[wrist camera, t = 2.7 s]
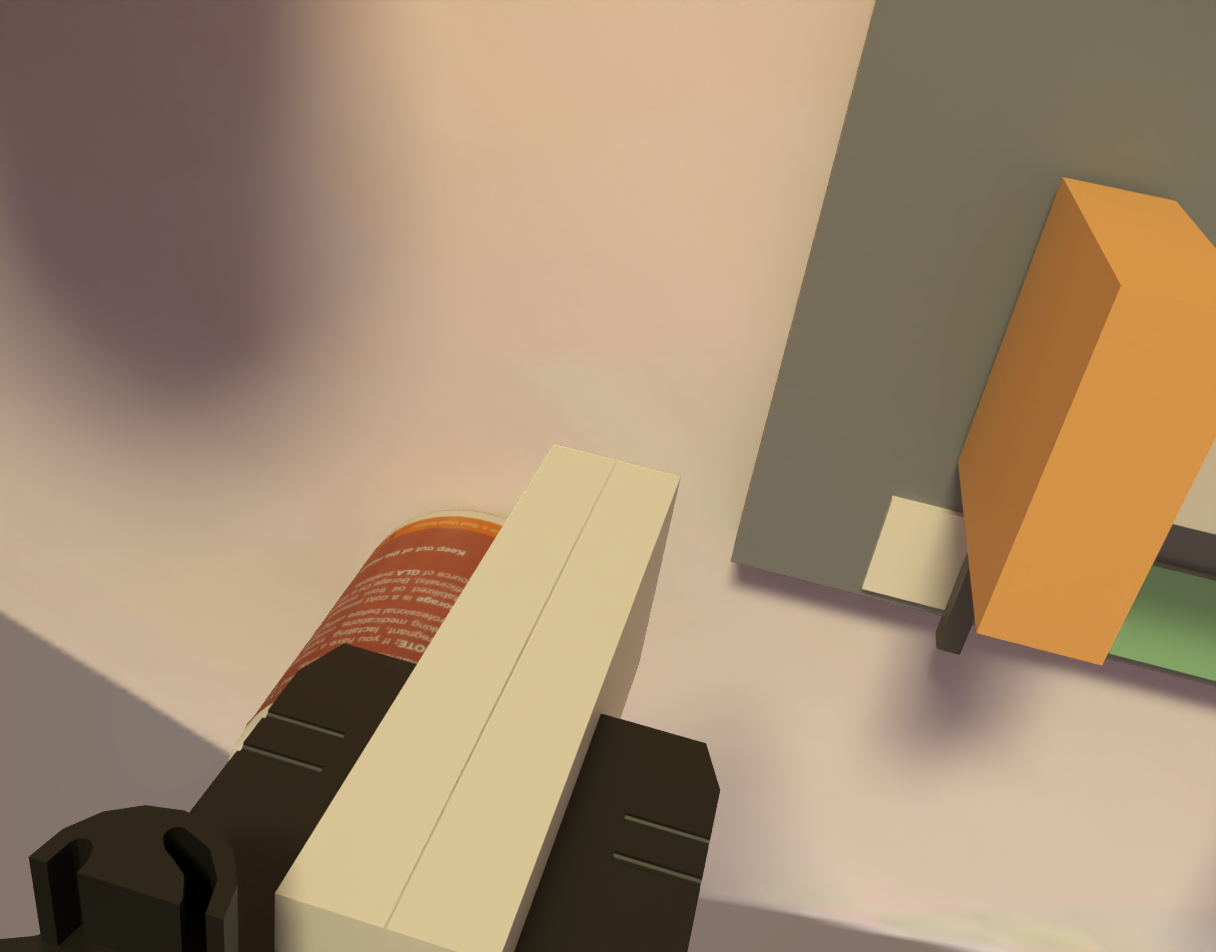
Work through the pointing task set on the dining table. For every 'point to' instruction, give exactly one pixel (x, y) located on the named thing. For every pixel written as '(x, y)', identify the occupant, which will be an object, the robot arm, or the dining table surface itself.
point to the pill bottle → (400, 592)
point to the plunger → (1090, 426)
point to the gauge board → (969, 283)
